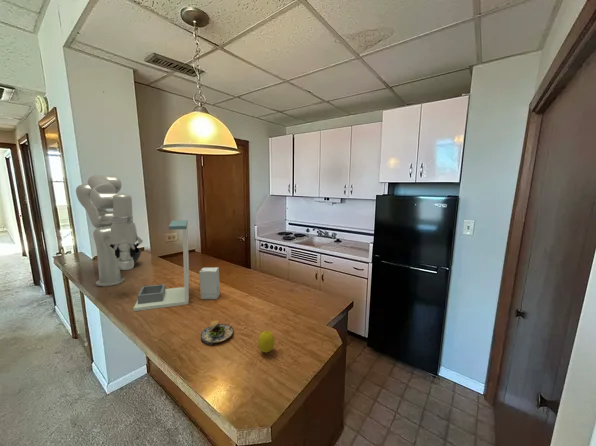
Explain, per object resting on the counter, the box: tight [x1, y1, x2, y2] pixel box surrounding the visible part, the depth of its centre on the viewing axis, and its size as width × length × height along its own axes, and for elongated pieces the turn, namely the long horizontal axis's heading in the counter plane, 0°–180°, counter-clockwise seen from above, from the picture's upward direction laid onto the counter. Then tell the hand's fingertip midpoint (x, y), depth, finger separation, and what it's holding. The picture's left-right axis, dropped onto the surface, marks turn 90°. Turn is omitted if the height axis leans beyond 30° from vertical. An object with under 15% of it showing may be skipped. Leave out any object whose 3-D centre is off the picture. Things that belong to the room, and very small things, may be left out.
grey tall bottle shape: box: [118, 239, 135, 271], centre depth 121 cm, size 6×7×20 cm
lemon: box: [257, 330, 275, 354], centre depth 85 cm, size 6×6×8 cm
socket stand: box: [132, 219, 190, 312], centre depth 119 cm, size 18×22×38 cm
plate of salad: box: [200, 318, 234, 347], centre depth 94 cm, size 12×12×8 cm
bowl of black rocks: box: [133, 246, 142, 264], centre depth 163 cm, size 20×20×19 cm
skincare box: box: [198, 267, 221, 300], centre depth 125 cm, size 8×6×15 cm
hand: (125, 256), depth 122 cm, fingers closed on grey tall bottle shape, 5 cm apart
